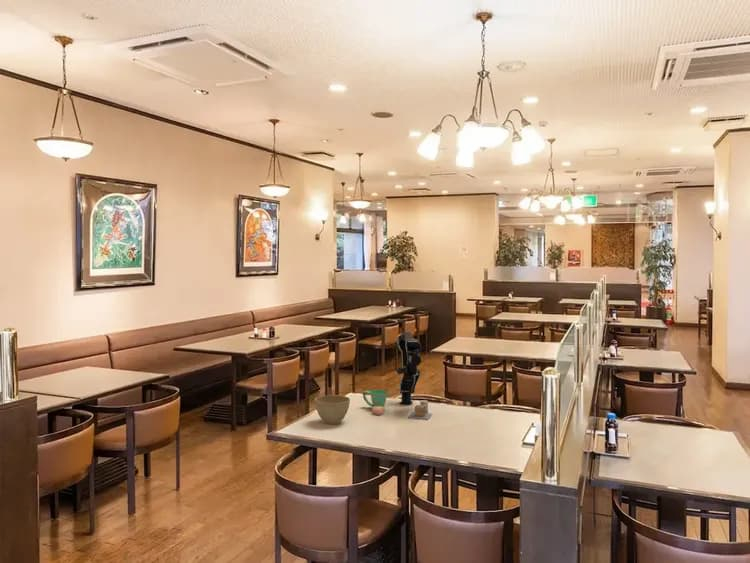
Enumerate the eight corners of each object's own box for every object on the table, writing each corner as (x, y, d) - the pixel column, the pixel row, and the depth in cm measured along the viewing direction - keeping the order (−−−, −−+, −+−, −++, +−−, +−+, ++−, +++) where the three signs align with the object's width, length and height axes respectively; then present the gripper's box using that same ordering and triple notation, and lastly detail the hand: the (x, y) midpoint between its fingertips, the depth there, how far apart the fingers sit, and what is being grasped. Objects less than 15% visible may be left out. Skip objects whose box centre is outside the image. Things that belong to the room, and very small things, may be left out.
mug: (390, 407, 324) (390, 390, 324) (383, 412, 316) (383, 394, 315) (366, 405, 331) (367, 387, 330) (359, 409, 322) (359, 391, 321)
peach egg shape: (372, 412, 315) (371, 406, 315) (382, 411, 315) (382, 405, 315) (373, 415, 309) (373, 409, 309) (384, 414, 309) (384, 408, 309)
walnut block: (416, 413, 310) (416, 404, 310) (425, 414, 309) (425, 405, 309) (414, 416, 306) (414, 406, 306) (423, 416, 304) (423, 407, 304)
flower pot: (348, 427, 286) (348, 403, 286) (312, 426, 286) (312, 403, 286) (350, 417, 304) (351, 395, 304) (317, 417, 304) (317, 394, 304)
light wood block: (420, 410, 319) (420, 400, 319) (427, 410, 319) (427, 400, 319) (420, 412, 315) (420, 401, 315) (427, 412, 315) (427, 402, 315)
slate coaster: (412, 412, 314) (412, 411, 314) (432, 414, 311) (432, 413, 311) (407, 418, 304) (407, 417, 304) (428, 419, 300) (428, 418, 300)
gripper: (402, 358, 330) (401, 384, 331) (394, 364, 312) (393, 392, 313) (421, 359, 327) (420, 386, 328) (414, 365, 309) (413, 394, 310)
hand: (411, 389), depth 320 cm, fingers open, 9 cm apart
